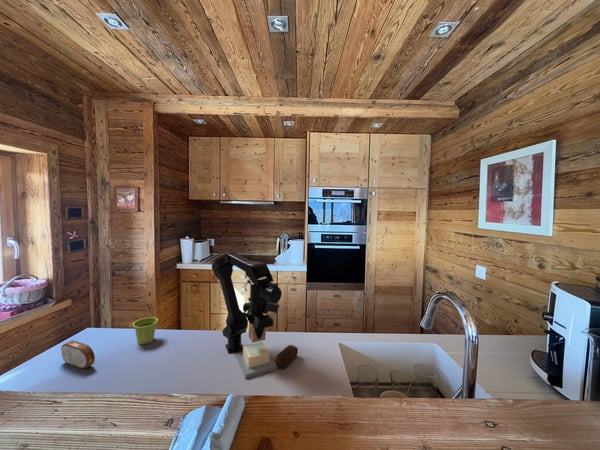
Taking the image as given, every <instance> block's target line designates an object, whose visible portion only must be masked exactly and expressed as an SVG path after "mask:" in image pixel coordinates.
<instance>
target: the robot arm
mask: <svg viewBox="0 0 600 450" xmlns="http://www.w3.org/2000/svg"><path fill="white" fill-rule="evenodd" d="M234 266H235V267H236V268H238V269H239V270H242V271H243V272H245V276H246V278H247V277H248V280H247V281H246V283H247V284H249V285H250V286H249V297H248V302H245V303H244V304H243V305H242V310H243V311H242V310H241V309H240V306H239V302H238V299H237V298H238V297H237V296H236V295H237V294H236V290H235V287H234V283H233V279H232V275H233V272H234ZM211 270H212V271H213V276H214V277H215V278H217V279H218V281H219V282H220V286H221V287H220V288H221V291H222V295H223V298H224V303H225V307H226V310H227V316H226V319H225V324H226V326H225V327H224V328H222V331H221V332H222V336H223V337H224V338H225V339H227V344H225V345H224V346H225V348H226V350H227V351H226V352H227V354H230V353H232V354H233V353H235V352H240V351H243V347H244V346H243V344H242V334H245V333H247V329H248V327H249V324H253V327H254V330H255V333H256V335H257V338H258V339H261V336H262V333H263V330H264V328H269V327H270V328H271V327H273V326H274V324H275V323H274V319H273V318H272V317H271V316H270V315H269V314H268V312H271V313H274V314H277V313H278V310H279V308H280V304H278V303H279V302H280V300H281V298H282V293H283V292H282V290H281V288H280V287H279V286H278V285H279V284H278V283H276V282H274V277H273V275H272V273H271V271H270V269H269V267H268V265H267V264H266V263H265V262H262V261H254V260H253V261H252V260H250V259H249V258H247V257H244V256H243V255H241V254H238V253H237V252H235V251H232V252H230V251H229V252H225V254H224V253H223V255H222V256H220V257H219V258H217V259H216V260H214V261H213V262H212V263H211Z"/></svg>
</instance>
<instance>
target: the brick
mask: <svg viewBox="0 0 600 450" xmlns="http://www.w3.org/2000/svg"><path fill="white" fill-rule="evenodd" d="M298 350H299V348H298V347H297V346H295V345H291V344H288V345H287V346H286V347H285V348H284V349H282V350H281V351H280V352H279V353H277V355H276V357H275V363H276V365H277V369H279V370H285V369H287V367H289V366H290V365H291V364H292V362H294V361H295V360H296V358H297V357H298V353H299V351H298Z"/></svg>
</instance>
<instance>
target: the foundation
mask: <svg viewBox="0 0 600 450" xmlns="http://www.w3.org/2000/svg"><path fill="white" fill-rule="evenodd" d="M235 358H236V361H237V363H238V365H239V368H240V369H241V372H242V374H243V376H244V379H245V380H246V379H249V378H252V377H256V376H260V375H263V374H266V373H269V372H273V371H277V370H278V368H277V365H276V361H274V359H273V357H272V356H271V355H270V351H269V350H268V349H267V347H266V345H265V343H264V342H261V341H260V342H258V343H257V342H256V343H254V344H249V345H244V346H243V350H242V352H237V353H236V354H235Z"/></svg>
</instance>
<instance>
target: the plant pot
mask: <svg viewBox="0 0 600 450" xmlns="http://www.w3.org/2000/svg"><path fill="white" fill-rule="evenodd" d="M158 322H159V319H158V318H157V317H143V318H140V319H138V320H136V321H134V322H133V323H132V327H133V328H134V331H135V336H136V342H137V344H138V345H146V344H150V343H152V342H153V341H154V339H155V334H156V332H155V331H156V328H157V327H156V326H157V323H158Z"/></svg>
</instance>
